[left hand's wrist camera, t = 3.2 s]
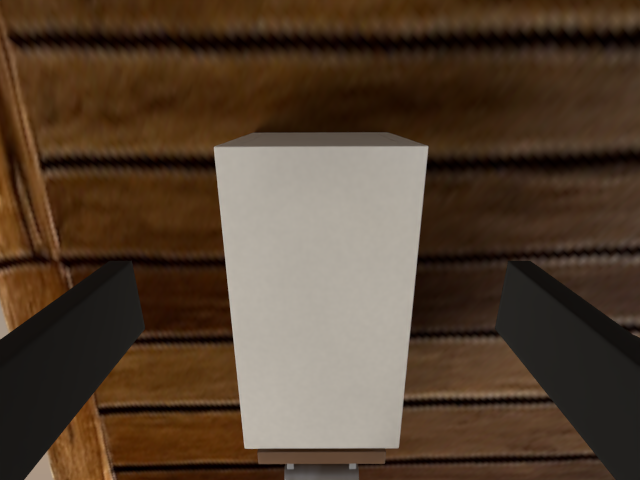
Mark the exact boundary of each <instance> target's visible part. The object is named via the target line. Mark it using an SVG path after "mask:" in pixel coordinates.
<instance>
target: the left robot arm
mask: <svg viewBox="0 0 640 480" xmlns="http://www.w3.org/2000/svg"><path fill="white" fill-rule="evenodd" d="M144 329H145V326H144V321H143V316H142V311H141V306H140V301H139V296H138V290H137V285H136V280H135V275H134V270H133V265H132V261H109V262H108V263H106V264H105V265H103V266H102V267H101V268H99V269H98V270H96V271H95V272H94V273H92V274H91V275H90V276H88V277H87V278H85V279H84V280H83V281H81V282H80V283H78V284H77V285H76V286H74V287H73V288H71V289H70V290H69V291H67V292H66V293H65V294H63V295H62V296H60V297H59V298H58V299H56V300H55V301H53V302H52V303H51V304H49V305H48V306H46V307H45V308H44V309H42V310H41V311H39V312H38V313H37V314H35V315H34V316H33V317H31V318H30V319H28V320H27V321H26V322H24V323H23V324H21V325H20V326H19V327H17V328H16V329H14V330H13V331H12V332H10V333H9V334H8V335H6V336H5V337H3V338H2V339H0V480H24V479H25V478H26V477H27V475H28V474H29V473H30V472H31V470H32V469H33V468H34V467H35V465H36V464H37V463H38V462H39V460H40V459H41V458H42V457H43V455H44V454H45V453H46V452H47V450H48V449H49V448H50V447H51V445H52V444H53V443H54V442H55V440H56V439H57V438H58V437H59V435H60V434H61V433H62V432H63V430H64V429H65V428H66V427H67V425H68V424H69V423H70V422H71V420H72V419H73V418H74V417H75V415H76V414H77V413H78V412H79V410H80V409H81V408H82V407H83V405H84V404H85V403H86V402H87V400H88V399H89V398H90V397H91V395H92V394H93V393H94V392H95V390H96V389H97V388H98V387H99V385H100V384H101V383H102V382H103V380H104V379H105V378H106V377H107V375H108V374H109V373H110V372H111V370H112V369H113V368H114V367H115V365H116V364H117V363H118V362H119V360H120V359H121V358H122V357H123V355H124V354H125V353H126V352H127V350H128V349H129V348H130V347H131V345H132V344H133V343H134V342H135V340H136V339H137V338H138V337H139V335H140V334H141V333H142V332H143V330H144ZM495 329H496V330H497V332H498V333H499V334H500V335H501V337H502V338H503V339H504V340H505V342H506V343H507V344H508V345H509V347H510V348H511V349H512V350H513V352H514V353H515V354H516V355H517V357H518V358H519V359H520V360H521V362H522V363H523V364H524V365H525V367H526V368H527V369H528V370H529V372H530V373H531V374H532V375H533V377H534V378H535V379H536V380H537V382H538V383H539V384H540V385H541V387H542V388H543V389H544V390H545V392H546V393H547V394H548V395H549V397H550V398H551V399H552V400H553V402H554V403H555V404H556V405H557V407H558V408H559V409H560V410H561V412H562V413H563V414H564V415H565V417H566V418H567V419H568V420H569V422H570V423H571V424H572V425H573V427H574V428H575V429H576V430H577V432H578V433H579V434H580V435H581V437H582V438H583V439H584V440H585V442H586V443H587V444H588V445H589V447H590V448H591V449H592V450H593V452H594V453H595V454H596V455H597V457H598V458H599V459H600V460H601V462H602V463H603V464H604V465H605V467H606V468H607V469H608V470H609V472H610V473H611V474H612V475H613V477H614V478H615V479H616V480H640V338H639V337H637V336H635V335H632V334H631V333H630V332H628V331H627V330H626V329H624V328H623V327H621V326H620V325H619V324H617V323H616V322H614V321H613V320H612V319H610V318H609V317H607V316H606V315H605V314H603V313H602V312H601V311H599V310H598V309H596V308H595V307H594V306H592V305H591V304H589V303H588V302H587V301H585V300H584V299H582V298H581V297H580V296H578V295H577V294H575V293H574V292H573V291H571V290H570V289H569V288H567V287H566V286H564V285H563V284H562V283H560V282H559V281H557V280H556V279H555V278H553V277H552V276H550V275H549V274H548V273H546V272H545V271H544V270H542V269H541V268H539V267H538V266H537V265H535V264H534V263H532V262H531V261H508V265H507V270H506V275H505V280H504V285H503V290H502V296H501V301H500V306H499V311H498V316H497V321H496V326H495Z"/></svg>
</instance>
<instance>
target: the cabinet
mask: <svg viewBox="0 0 640 480" xmlns="http://www.w3.org/2000/svg"><path fill="white" fill-rule="evenodd" d="M214 154H215V163H216V173H217V183H218V193H219V202H220V212H221V222H222V232H223V241H224V251H225V261H226V271H227V280H228V290H229V300H230V310H231V319H232V329H233V339H234V349H235V358H236V368H237V378H238V388H239V397H240V407H241V417H242V427H243V436H244V446H245V449H268V448H399V440H400V430H401V419H402V409H403V399H404V389H405V379H406V369H407V359H408V348H409V338H410V328H411V318H412V308H413V298H414V287H415V277H416V267H417V257H418V247H419V237H420V227H421V216H422V206H423V196H424V186H425V176H426V166H427V155H428V146H427V145H424V144H421V143H418V142H415V141H412V140H409V139H406V138H403V137H400V136H397V135H394V134H391V133H388V132H321V133H252V134H249V135H246V136H243V137H240V138H237V139H234V140H232V141H229V142H226V143H223V144H220V145H217V146H215V147H214Z"/></svg>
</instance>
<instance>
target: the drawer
mask: <svg viewBox="0 0 640 480" xmlns="http://www.w3.org/2000/svg"><path fill="white" fill-rule="evenodd" d="M385 455H386V450H385V448H268V449H258V463H259V464H285V480H359V471H358V464H384V463H385Z"/></svg>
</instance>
